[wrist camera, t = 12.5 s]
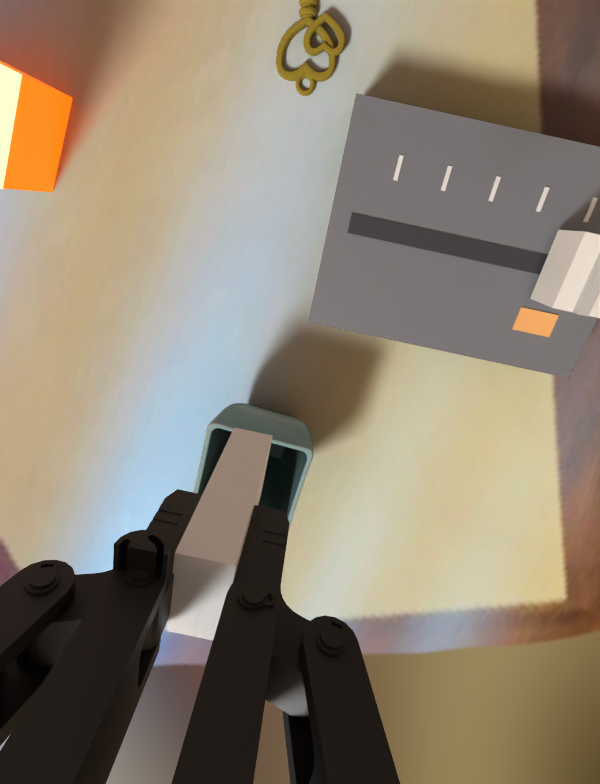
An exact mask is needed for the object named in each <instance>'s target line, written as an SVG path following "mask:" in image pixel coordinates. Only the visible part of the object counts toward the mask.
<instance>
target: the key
mask: <svg viewBox="0 0 600 784" xmlns="http://www.w3.org/2000/svg"><path fill="white" fill-rule="evenodd" d="M317 2H318V1H317V0H300V1H299V4H300V6H301V7H302V8H301V9H300V10H299V15H300V17H302V19H301V20H299V21H298V22H297V23H295V24H294V25H293V26H292V27H291V28H289V29H288V30H287V31H286V33H285V34H284V36H283V37H282V39H281V41H280V44H279V46H278V50H277V58H276V64H277V70H278V72H279V74H280V76H281V77H283V78H284V79H286V80H290V81H296V88H297V91H298V92H299V93H300V94H301V95H303V96H307V95H310V94H311V93H312V92H313V91H314V89H315V81H325V80H327V79H329V78H330V77H331V76H332V75H333V73H334V71H335V67H336V56H338V55H339V54H340V53H342V51H343V49H344V46H345V35H344V32H343V30H342V28H341V26H340V25H339V24H338V23H337V22H336V21H335V19H333V18H332V17H331V16H330V15H329V14H328V13H326V12H325V13H323V14H322V15H321V16H319V17H318V18H317V19H316V20H313V17H314V18H315V17H316V16H317V10H316V9H315V8H314V7H316V6H317ZM324 22H326V23H327V24H328V25H330V26H331V28H332V29H333V30H334V32H335V33H336V35H337V38H338V46H337V47H336V48H334V44H333V42H332V39H331V37H330V36H329V34H328V32H327V31H326V30H325V29H324V28H323V27H322V26H321V25H322V24H323V23H324ZM307 26H308V29H307V30H306V33H305V35H304V48H305V50H306V52H307V53H308V54H309V55H312V56H316V55H318V54H320V53H321V52H323V51H325V52H326V53H327V54H328V55H329V67H328V69H327V70H326V71H324V72H318V71H315V70H314V69H312V68H311V67H310V65H309V64H308V63H307V62H304V63H303V64H302V65H301V66H300V68H298V69H296V70H295V71H286V70H285V69H284V67H283V59H284V54H285V51H286V48H287V46H288V45H289V43H290V41H291V40H292V38H293V37H294V36H295V35H296V34H297V33H298V32H300V31H301V30H303V29H304V28H306V27H307ZM314 32H316V33H317V34H318V35H319V36H320V38H321V39H322V41H323V43H322V44H321V45H320V46H318V47H316V48H312V47H311V38H312V35H313V34H314ZM304 78H307V79H309V80H310V83H311V84H310V88H309V89H308V90H303V89H302V88H301V85H300V84H301V81H302V80H303V79H304Z"/></svg>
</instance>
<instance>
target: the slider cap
mask: <svg viewBox="0 0 600 784" xmlns="http://www.w3.org/2000/svg"><path fill="white" fill-rule="evenodd" d="M530 299H532V300H535V301H537V302H539V303H542V304H544V305H546V306H549V307H551V308H555V309H559V310H564V311H569V312H573V313H575V314H578V315H583V316H592V317H596V318H600V235H599V234H594V233H590V232H584V231H569V230H558V232H557V234H556V237H555V239H554V242H553V244H552V246H551V249H550V251H549V254H548V256H547V259H546V261H545V264H544V266H543V268H542V271H541V273H540V276H539V278H538V281H537V283H536V285H535V288H534V290H533V293H532V295H531V298H530Z"/></svg>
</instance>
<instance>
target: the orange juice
mask: <svg viewBox="0 0 600 784" xmlns="http://www.w3.org/2000/svg"><path fill="white" fill-rule="evenodd" d="M72 99H73V98H72V97H70V96H68V95H66V94H64V93H62V92H60V91H58V90H56V89H54V88H53V87H51V86H49V85H47V84H45V83H43V82H41V81H39V80H37V79H35V78H33V77H31V76H29V75H27V74H26V73H24V72H22V71H20V70H18V69H16V68H14V67H12V66H10V65H8V64H6V63H4V62H2V61H0V189H3V188H6V189H19V190H31V191H43V192H53V188H54V184H55V179H56V174H57V169H58V165H59V160H60V155H61V151H62V146H63V141H64V137H65V132H66V127H67V123H68V118H69V113H70V108H71V104H72Z"/></svg>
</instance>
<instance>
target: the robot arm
mask: <svg viewBox="0 0 600 784" xmlns="http://www.w3.org/2000/svg"><path fill="white" fill-rule="evenodd" d="M272 437H273V436H272V435H267V434H263V433H258V432H253V431H249V430H244V429H239V428H235V427H234V429H233V431H232V433H231V435H230V437H229V440H228V442H227V444H226V446H225V448H224V450H223V452H222V454H221V456H220V459H219V461H218V463H217V465H216V467H215V469H214V471H213V473H212V475H211V478H210V480H209V482H208V484H207V486H206V488H205V490H204V492H203V494H202V495H201V494H197V493H192V492H187V491H183V490H176V491H175V492H173V493H172V494H170V495H169V496H167V497H166V498H165V499H164V501H163V503H162V504H161V506H160V508H159V510H158V511H157V513H156V514H155V516H154V518H153V521H151V523H150V524H149V526H148V528H147V530H139V531H134V532H130V533H128V534H126V535H124V536H122V537H120V538H119V539H118V540H117V541H116V542H115V543H114V561H113V569H112V570H109V571H106V572H102V573H95V574H80V575H75V574H74V571H73V568H72V567H71V566H69V565H68V564H67V563H66V562H62V561H58V560H45V561H40V562H37V563H34V564H31V565H29V566H27V567H26V568H24V569H22V570H21V571H19V572H18V573H17V574H15V575H14V576H13V577H12V578H10V579H9V580H8V581H6V582H5V583H4V584H3V585H1V586H0V745H1V744H2V743H3V742H4V741H5V740H6V739H7V737H8V736H9V735H10V734H11V735H10V736H9V738H8V740H7V741H6V743H5V744H4V746H3V747H2V749H1V751H0V784H106V782H107V779H108V777H109V774H110V772H111V769H112V767H113V764H114V762H115V759H116V756H117V754H118V752H119V749H120V747H121V744H122V742H123V739H124V737H125V734H126V732H127V729H128V727H129V724H130V722H131V719H132V717H133V714H134V712H135V709H136V707H137V704H138V702H139V699H140V697H141V694H142V692H143V689H144V687H145V684H146V682H147V679H148V677H149V674H150V672H151V669H152V667H153V664H154V662H155V659H156V657H157V654H158V652H159V647H160V641H161V634H162V632H163V630H164V627H165V625H166V622H167V630H166V631H170V632H175V633H180V634H185V635H189V636H194V637H199V638H204V639H209V640H213V643H212V646H211V649H210V653H209V656H208V660H207V663H206V667H205V670H204V674H203V677H202V681H201V684H200V688H199V691H198V694H197V698H196V702H195V705H194V708H193V712H192V715H191V719H190V722H189V726H188V729H187V732H186V736H185V739H184V743H183V746H182V750H181V753H180V757H179V760H178V764H177V767H176V771H175V774H174V777H173V781H172V784H253V780H254V773H255V765H256V759H257V753H258V746H259V739H260V732H261V725H262V718H263V711H264V705H265V700H267V701H269V702H270V703H272V704H273V705H275V706H276V707H278V708H280V709H281V710H283V720H284V729H285V738H286V747H287V756H288V766H289V775H290V783H291V784H400V782H399V779H398V775H397V772H396V768H395V765H394V762H393V758H392V755H391V752H390V748H389V745H388V741H387V738H386V735H385V731H384V728H383V724H382V721H381V718H380V714H379V711H378V708H377V704H376V701H375V698H374V694H373V691H372V687H371V684H370V680H369V677H368V674H367V670H366V667H365V664H364V660H363V657H362V653H361V650H360V647H359V643H358V640H357V638H356V636H355V634H354V632H353V630H352V629H351V628H350V627H349V626H348V625H347V624H346V623H345V622H343V621H341V620H339V619H337V618H335V617H330V616H321V617H316V618H314V619H313V620H311V621H309V620H307V619H305V618H303V617H301V616H300V615H298V614H297V613H295V612H294V611H292V610H291V609H290V608H289V607H288V606H287V605H286V603H285V601H284V600H283V598H282V595H281V586H280V585H281V578H282V571H283V564H284V558H285V551H286V544H287V537H288V530H289V520H288V518H287V515H286V513H285V511H282V510H277V509H273V508H268V507H263V506H258V504H259V500H260V496H261V492H262V487H263V482H264V477H265V472H266V467H267V462H268V457H269V452H270V447H271V442H272ZM167 620H168V621H167Z"/></svg>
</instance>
